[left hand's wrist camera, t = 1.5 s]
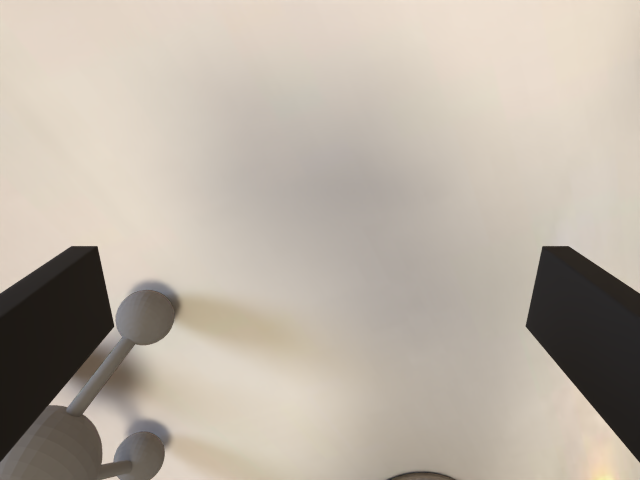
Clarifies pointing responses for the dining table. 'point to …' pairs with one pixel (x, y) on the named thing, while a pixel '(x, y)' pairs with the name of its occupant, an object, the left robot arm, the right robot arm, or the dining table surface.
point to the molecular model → (78, 431)
